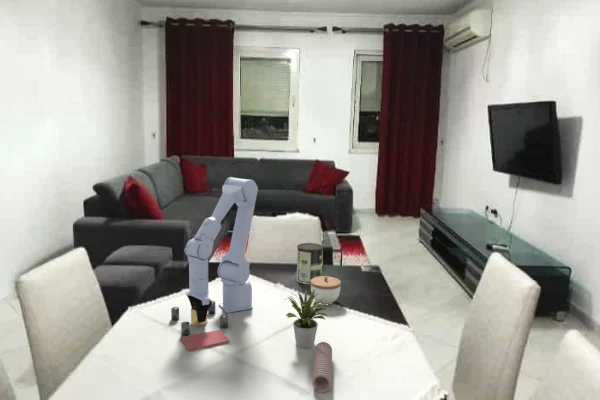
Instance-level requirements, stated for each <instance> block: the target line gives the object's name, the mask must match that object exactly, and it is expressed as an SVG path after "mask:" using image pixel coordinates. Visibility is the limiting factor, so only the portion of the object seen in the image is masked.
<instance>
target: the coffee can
mask: <svg viewBox="0 0 600 400" xmlns="http://www.w3.org/2000/svg"><path fill="white" fill-rule="evenodd" d="M296 248H297V252H296V256H297V257H296V265H297V266H296V281H297V283H300V284H302V283H303V285H311V279H312V278H315V277H319V276H323V252H324V251H323V250H324V246H323V245H321V244H319V243H314V242H305V243H299V244H298V245H297V246H296Z"/></svg>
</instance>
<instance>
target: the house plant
mask: <svg viewBox="0 0 600 400" xmlns="http://www.w3.org/2000/svg"><path fill="white" fill-rule="evenodd" d="M315 291H316V289H315V290H313V291H312V293H310V295H309V297H308V295H307V294H308V289H307V288H306V289H305V292H304V298H303V296H302V294H301V293H300V292H299V291H297V294H298V297H299V298H298V297H297V295H295V296H296V298H297V299H298V302H299V303H300V306H299V305H298V302H296V300H295V299H294V298H293V296H294V294H293V293H292V294H291V295H292V296H290V295H288V296H287V298H285V300H287V301H288V302H290V303H291V307H292V308H294V310H296V312H297V313H298V315H299V317H300V318H299V317H298V316H297V315H296V314H294V313H293V312H288V313H287V314H285V317H287V318H286V319H288V318H297V319H295V320H294V321H293V322H292V323H293V324H292V325H293V330H294V339H295V344H296V346H297V347H299V348H304V349H307V348H308V349H309V348H311V347H313V346H314V345H315V340H316V335H317V331H318V326H319V324H318V322H317V321H316V319H321V320H326V318H325V317H324V316H326V317H327V318H328V317H329V316H328V314H327V313H325V312H320V311H324V310H329V311H332V309H330V308H327V307H322V306H326V305H325V304H319V303H320V302H321V301H322V300H323V299H325V298H327V297H325V298H322V299H321V300H320V301H318V302H316V303H315V304H314V305H313V301H314V300H315V299H314V298H315V297H316V296H317V294H316V295H315V296H314V293H315ZM307 297H308V298H307Z"/></svg>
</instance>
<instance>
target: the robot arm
mask: <svg viewBox="0 0 600 400" xmlns="http://www.w3.org/2000/svg"><path fill="white" fill-rule="evenodd" d="M221 190H222V193H221V196H220V198H219V200H218V202H217V204H216V206H215V208H214V209H213V212H212V214H211V216H210V217H206V218H205V219H204V220H203V221H202V224H201V225H200V227H199V229H198V231H197V232H196V234H195V235H194V237H193V238H191V239H189V240H188V241H187V242H186V244H185V248H184V253H185V255H186V257H187V262H188V271H189V272H188V273H189V274H188V277H189V280H188V281H189V283H188V284H189V286H188V287H189V289H188V290H187V291H185V295H186V297H187V299H188V302H189V304H190V307H191V308H192V307H193V306H195V309H196V314H197V320H198V322H199V323H200V322H205V320H206V316H207V317H208V309H209V307H210V305H211V304H212V301H213V300H211V299H210V297H209V295H210V289H209V257H210V256H211V255H212V253H213V247H214V241H216V238H217V236H218V234H219V233H220V231H221V229H222V223H221V222H222V221H223V220H224V218H225V217H226V215H227V213H228V212H229V210H230V209H231V208H232V207H233V205H234V204H236V206H237V211H236V215H235V216H236V217H235V221H234V225H233V230H232V235H231V239H230V244H229V249H228V250H229V251H228V253H226V254H224V255H223V256H222V257H221V261H220V263H219V265H218V267H217V275H218V278H220V281H221V282H222V302H219V303H218V306H219V307H220V309H222V310H223V311H224V312H225V313H226V314H229V313H235V312H239V311H245V310H246V311H247V310H250V309H253V289H252V282H250V280H249V277H250V265H251V262H250V261H249V260H248V258H247V257H246V256H245V255H246V250H247V246H248V240H249V235H250V230H251V227H252V221H253V217H254V216H253V215H254V211H255V205H256V200H257V196H258V190H259V188H258V185H257V184H256V182H255V180H253V179H246V178H238V177H233V176H230V177H227V178H226V180H225V181H224V184H223V185H222V187H221ZM233 262H236V263H238V264H236V263H233ZM191 308H190V309H191Z"/></svg>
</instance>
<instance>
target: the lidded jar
mask: <svg viewBox="0 0 600 400" xmlns="http://www.w3.org/2000/svg"><path fill="white" fill-rule="evenodd" d="M341 284H342V281H341V280H340V279H339V278H336V277H332V276H327V275H322V276H319V277H315V278H312V279H311V284H310V292H311V293H312V291H313V290H315V289H316V291H315V293H314V296H315V295H316V294H317V296H316V297H315V298H314V299H313V300H314V301H315V302H316V301H317V302H318V301H320V300H321V299H322V298H325V297H327V298H325V299H323V300H322V301H321V302H320V303H321V304H331V303H333V302H334V303H335V302H336V301H337V300H338V298H339V295H340V292H341V286H342V285H341ZM311 293H310V294H311ZM317 302H316V303H317ZM334 303H333V304H334ZM331 305H332V304H331Z"/></svg>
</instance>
